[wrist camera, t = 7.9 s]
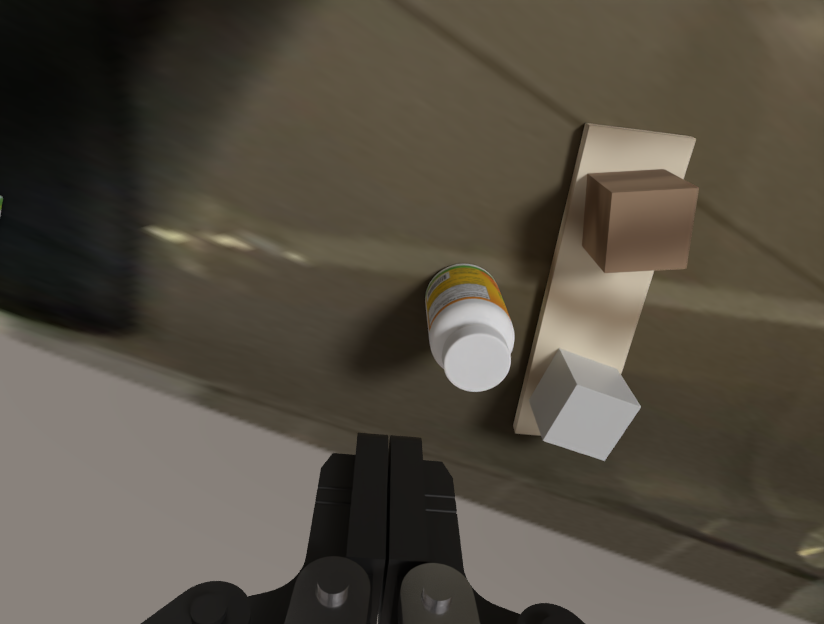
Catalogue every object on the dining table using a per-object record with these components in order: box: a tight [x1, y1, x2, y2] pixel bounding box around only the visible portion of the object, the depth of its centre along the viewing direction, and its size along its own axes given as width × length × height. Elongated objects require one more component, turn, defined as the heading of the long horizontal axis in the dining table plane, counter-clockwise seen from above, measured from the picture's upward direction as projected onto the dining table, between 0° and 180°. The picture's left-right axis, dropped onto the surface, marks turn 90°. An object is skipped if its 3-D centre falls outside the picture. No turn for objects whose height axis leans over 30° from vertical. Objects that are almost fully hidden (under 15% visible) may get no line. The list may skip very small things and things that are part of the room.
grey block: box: [529, 348, 641, 461], centre depth 44 cm, size 5×5×5 cm
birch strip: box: [513, 123, 696, 436], centre depth 43 cm, size 24×7×1 cm, turn 173°
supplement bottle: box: [425, 264, 514, 392], centre depth 39 cm, size 5×5×10 cm
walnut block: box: [582, 169, 699, 273], centre depth 38 cm, size 5×5×5 cm
